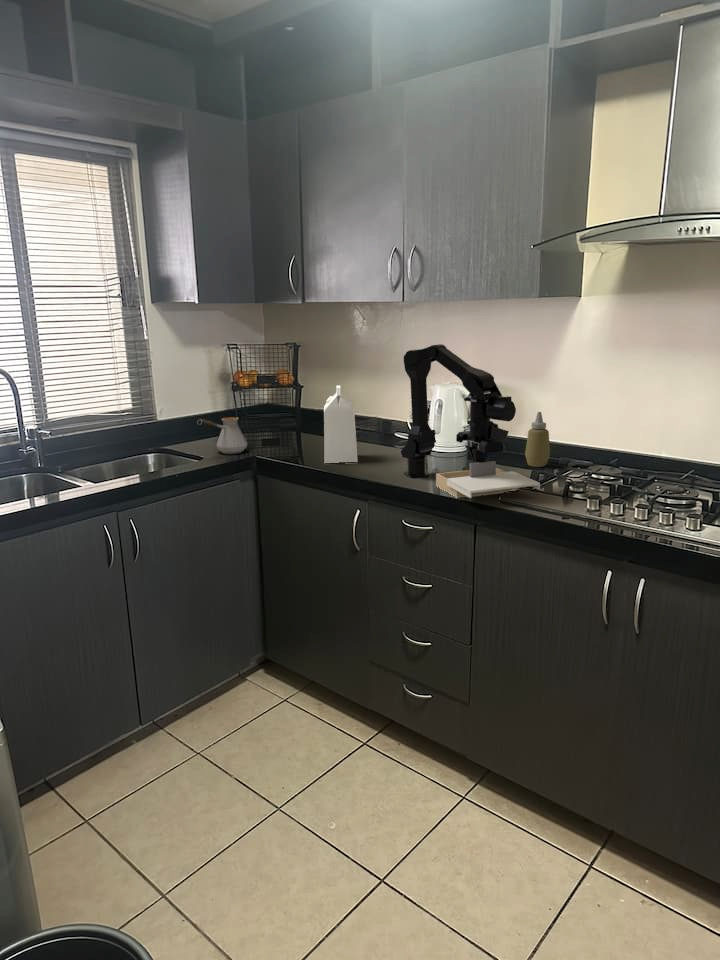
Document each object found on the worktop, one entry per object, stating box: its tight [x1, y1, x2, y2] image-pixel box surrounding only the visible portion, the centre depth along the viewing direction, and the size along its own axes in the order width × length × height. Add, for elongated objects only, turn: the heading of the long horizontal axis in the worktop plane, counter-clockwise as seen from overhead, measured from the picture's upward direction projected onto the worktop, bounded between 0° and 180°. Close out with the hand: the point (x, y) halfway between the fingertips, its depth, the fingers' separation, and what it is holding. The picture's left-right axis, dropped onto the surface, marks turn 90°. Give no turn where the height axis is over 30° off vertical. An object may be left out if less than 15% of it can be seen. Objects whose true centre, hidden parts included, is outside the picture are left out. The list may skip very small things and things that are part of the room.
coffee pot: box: [197, 416, 248, 455], centre depth 255 cm, size 21×12×15 cm, turn 146°
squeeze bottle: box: [524, 411, 551, 468], centre depth 228 cm, size 8×8×18 cm
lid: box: [447, 460, 541, 499], centre depth 194 cm, size 14×22×6 cm
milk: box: [323, 385, 359, 464], centre depth 241 cm, size 12×12×26 cm
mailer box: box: [435, 467, 516, 499], centre depth 203 cm, size 14×20×4 cm
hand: (478, 470), depth 202 cm, fingers closed
